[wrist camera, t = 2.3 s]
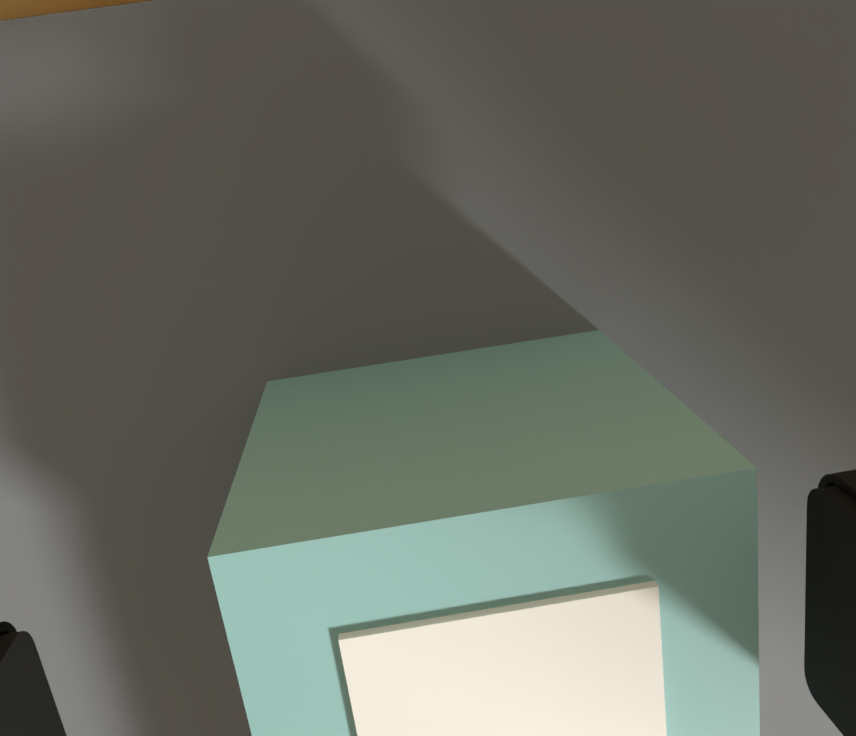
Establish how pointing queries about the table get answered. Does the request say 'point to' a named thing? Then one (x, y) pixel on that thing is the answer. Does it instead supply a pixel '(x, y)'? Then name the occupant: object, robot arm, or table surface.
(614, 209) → the mat
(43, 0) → the table surface
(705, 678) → the teal cube
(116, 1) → the table surface
